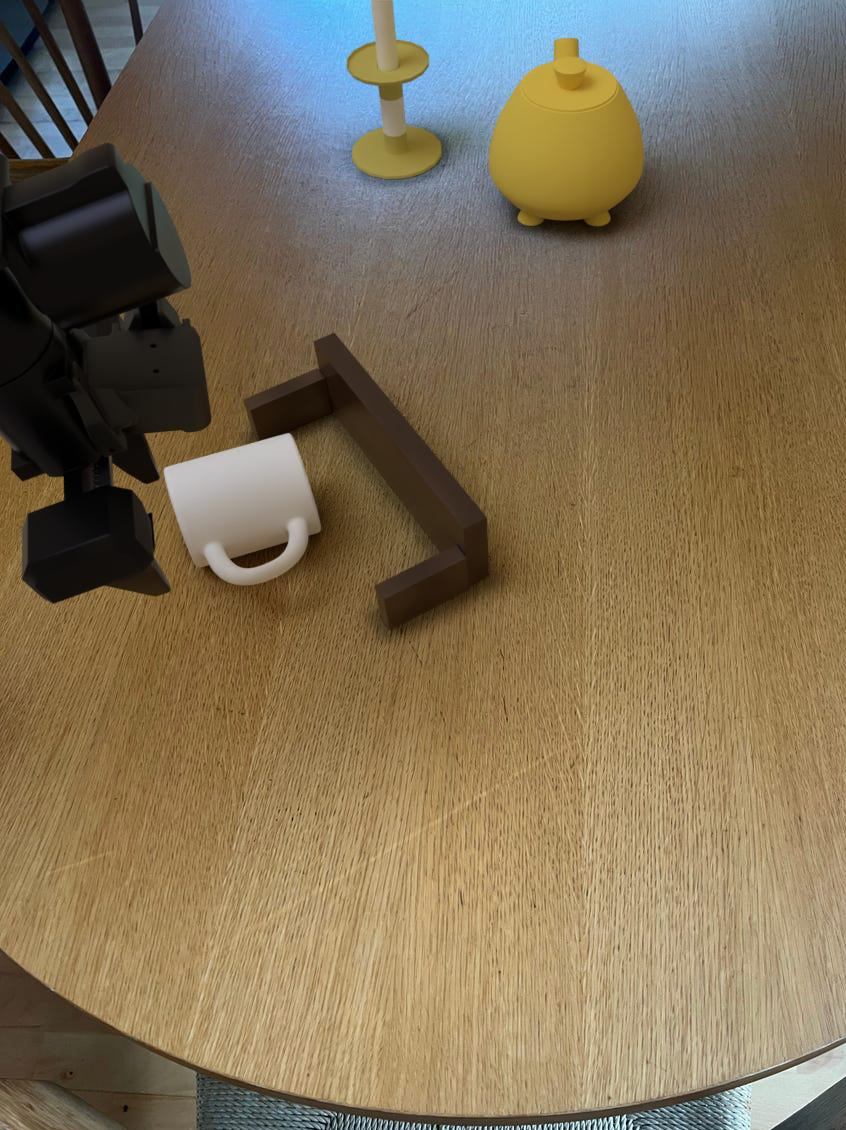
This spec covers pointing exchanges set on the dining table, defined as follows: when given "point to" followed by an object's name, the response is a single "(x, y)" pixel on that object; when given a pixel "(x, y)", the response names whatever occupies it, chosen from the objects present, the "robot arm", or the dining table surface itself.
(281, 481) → the mug
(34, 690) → the dining table surface
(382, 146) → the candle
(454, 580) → the shelf
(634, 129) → the teapot
